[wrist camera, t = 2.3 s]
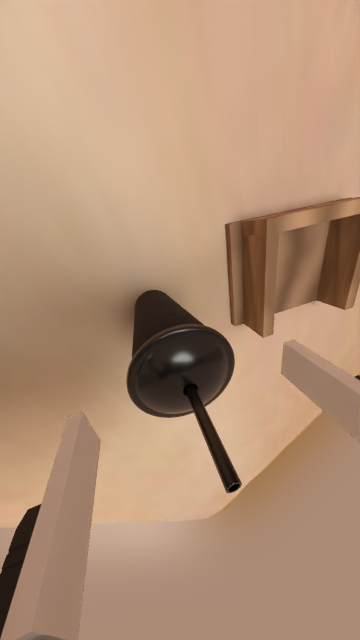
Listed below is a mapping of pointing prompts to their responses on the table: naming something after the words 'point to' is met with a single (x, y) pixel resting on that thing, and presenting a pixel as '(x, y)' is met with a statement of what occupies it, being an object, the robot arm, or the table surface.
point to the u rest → (293, 261)
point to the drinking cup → (180, 370)
